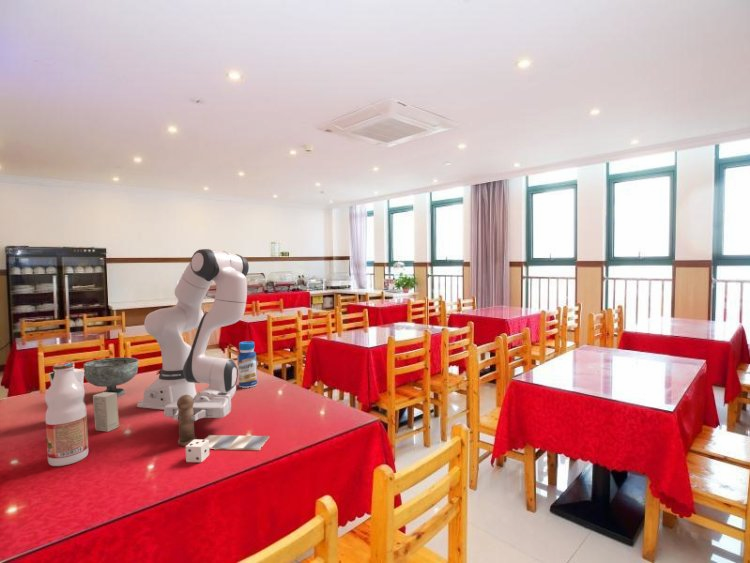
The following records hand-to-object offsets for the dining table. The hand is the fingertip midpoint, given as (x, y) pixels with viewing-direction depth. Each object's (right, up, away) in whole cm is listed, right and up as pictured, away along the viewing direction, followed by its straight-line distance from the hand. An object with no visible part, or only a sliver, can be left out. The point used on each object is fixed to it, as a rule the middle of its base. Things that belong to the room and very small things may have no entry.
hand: (184, 418), depth 124 cm
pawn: (0, -8, +1) cm, 8 cm away
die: (+8, -8, -9) cm, 15 cm away
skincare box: (-33, -8, +13) cm, 36 cm away
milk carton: (-52, -8, +22) cm, 57 cm away
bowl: (-55, -7, +50) cm, 75 cm away
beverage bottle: (+1, -5, +59) cm, 60 cm away
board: (+15, -8, 0) cm, 17 cm away
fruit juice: (-30, -9, -8) cm, 32 cm away
